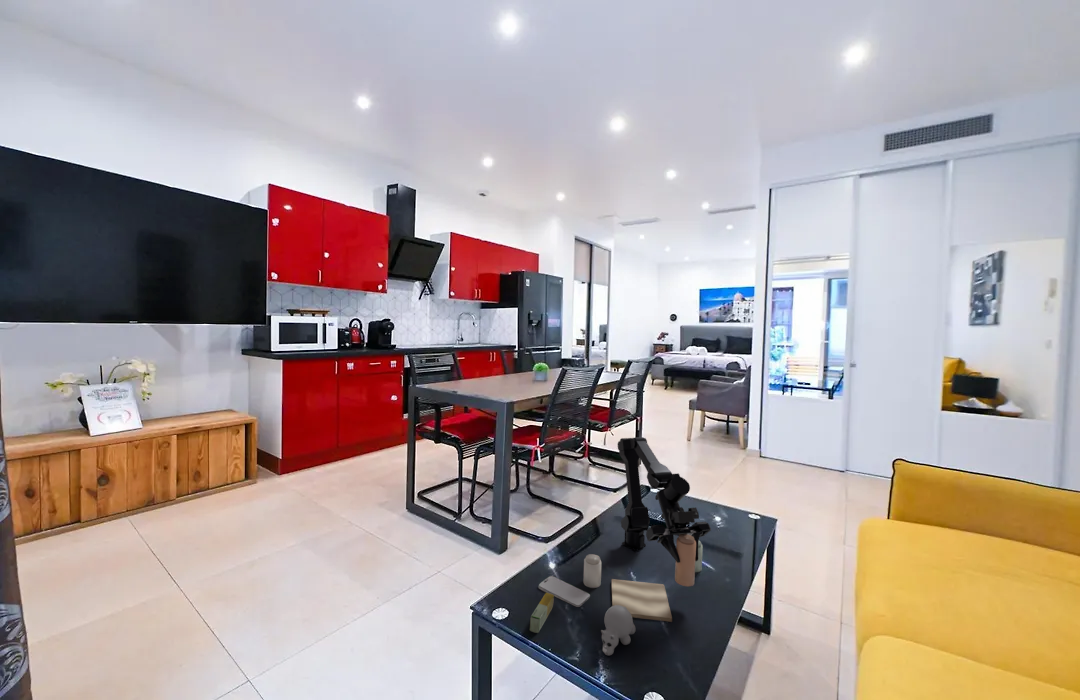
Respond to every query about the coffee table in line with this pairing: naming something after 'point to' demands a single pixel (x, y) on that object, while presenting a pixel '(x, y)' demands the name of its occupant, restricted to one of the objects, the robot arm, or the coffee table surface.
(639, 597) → the beige cloth
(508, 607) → the coffee table surface
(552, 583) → the smartphone
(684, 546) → the terracotta jar
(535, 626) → the medication box
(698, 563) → the sage jar
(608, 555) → the coffee table surface
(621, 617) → the chubby cartoon animal
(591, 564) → the cream jar
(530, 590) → the coffee table surface
